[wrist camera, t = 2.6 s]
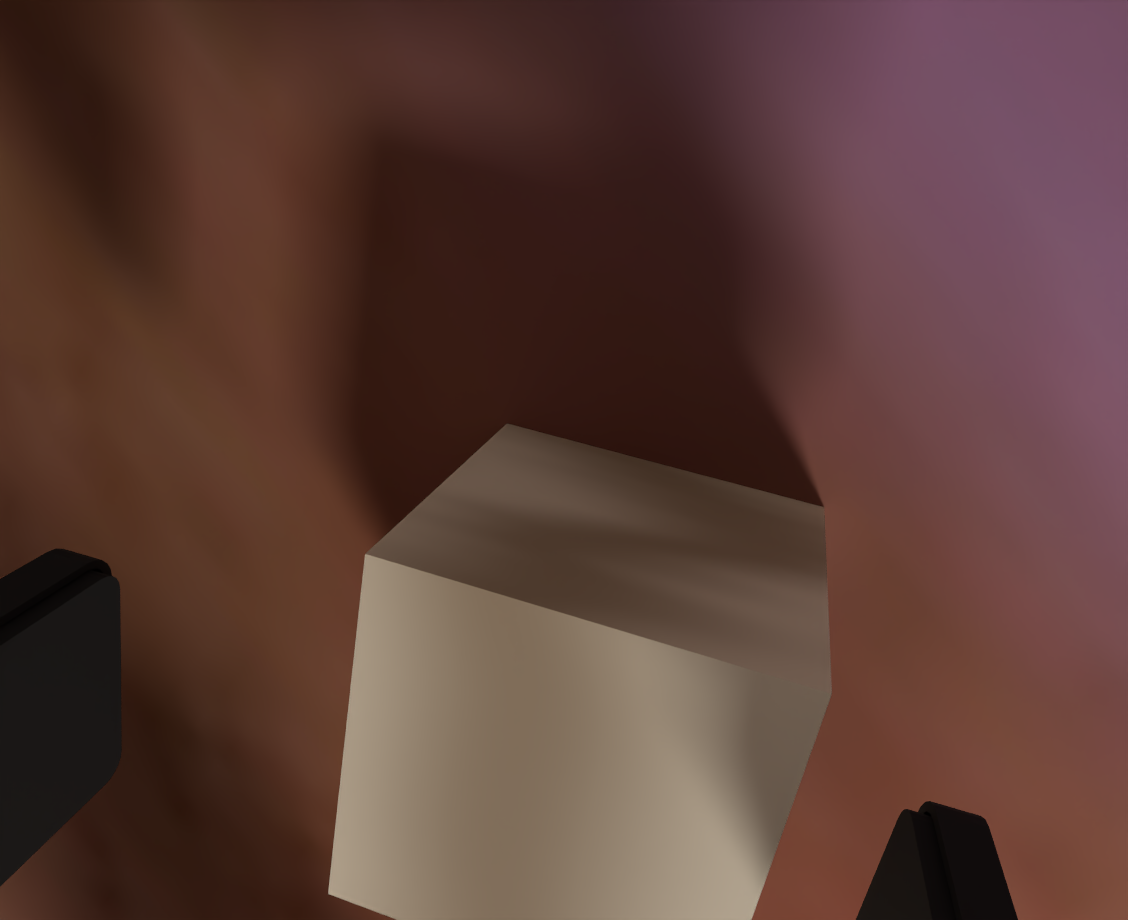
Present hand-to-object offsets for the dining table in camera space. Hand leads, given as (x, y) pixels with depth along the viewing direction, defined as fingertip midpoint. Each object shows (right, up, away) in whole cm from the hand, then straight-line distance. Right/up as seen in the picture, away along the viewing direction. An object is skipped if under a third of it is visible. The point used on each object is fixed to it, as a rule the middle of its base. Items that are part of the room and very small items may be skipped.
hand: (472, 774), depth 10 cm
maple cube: (+2, +1, +4) cm, 5 cm away
